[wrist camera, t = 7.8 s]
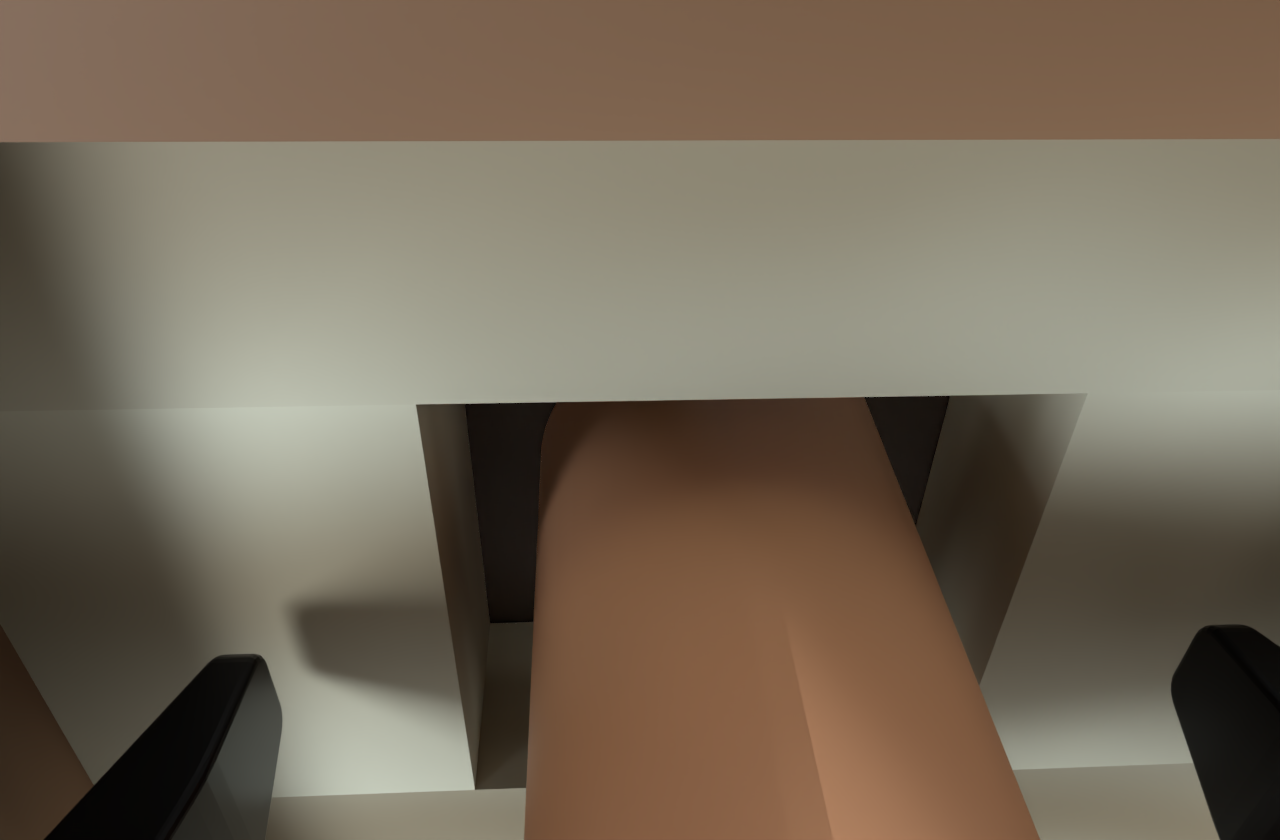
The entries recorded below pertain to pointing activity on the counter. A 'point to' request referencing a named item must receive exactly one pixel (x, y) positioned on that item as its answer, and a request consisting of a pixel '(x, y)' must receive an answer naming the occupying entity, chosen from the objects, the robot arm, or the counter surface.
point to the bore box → (617, 351)
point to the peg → (746, 637)
